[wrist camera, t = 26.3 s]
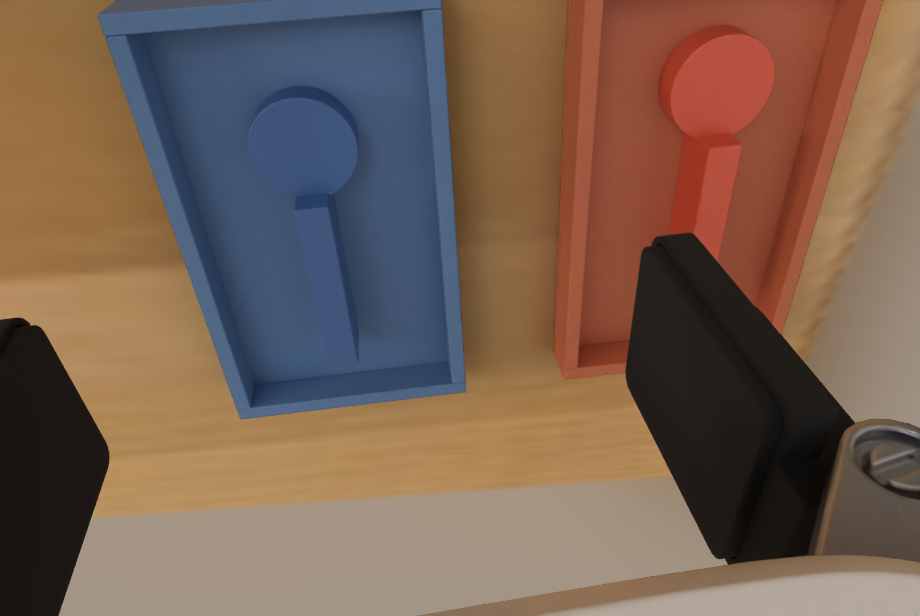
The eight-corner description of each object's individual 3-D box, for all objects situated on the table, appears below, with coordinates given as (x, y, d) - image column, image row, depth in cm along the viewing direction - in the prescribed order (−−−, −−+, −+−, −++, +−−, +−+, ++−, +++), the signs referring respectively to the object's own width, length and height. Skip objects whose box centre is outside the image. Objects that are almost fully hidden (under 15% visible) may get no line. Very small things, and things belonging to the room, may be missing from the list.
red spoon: (714, 275, 29) (737, 305, 27) (632, 285, 29) (650, 315, 27) (769, 19, 23) (803, 37, 21) (664, 29, 22) (691, 47, 21)
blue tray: (116, -2, 20) (96, 14, 19) (434, -27, 21) (440, -14, 19) (246, 387, 30) (239, 420, 28) (460, 362, 31) (466, 392, 29)
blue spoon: (387, 327, 28) (389, 360, 27) (301, 337, 28) (297, 372, 26) (350, 80, 22) (349, 103, 20) (239, 90, 22) (229, 114, 20)
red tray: (569, -38, 21) (586, -26, 20) (860, -61, 22) (899, -52, 20) (553, 351, 31) (563, 380, 29) (755, 327, 32) (776, 354, 30)
